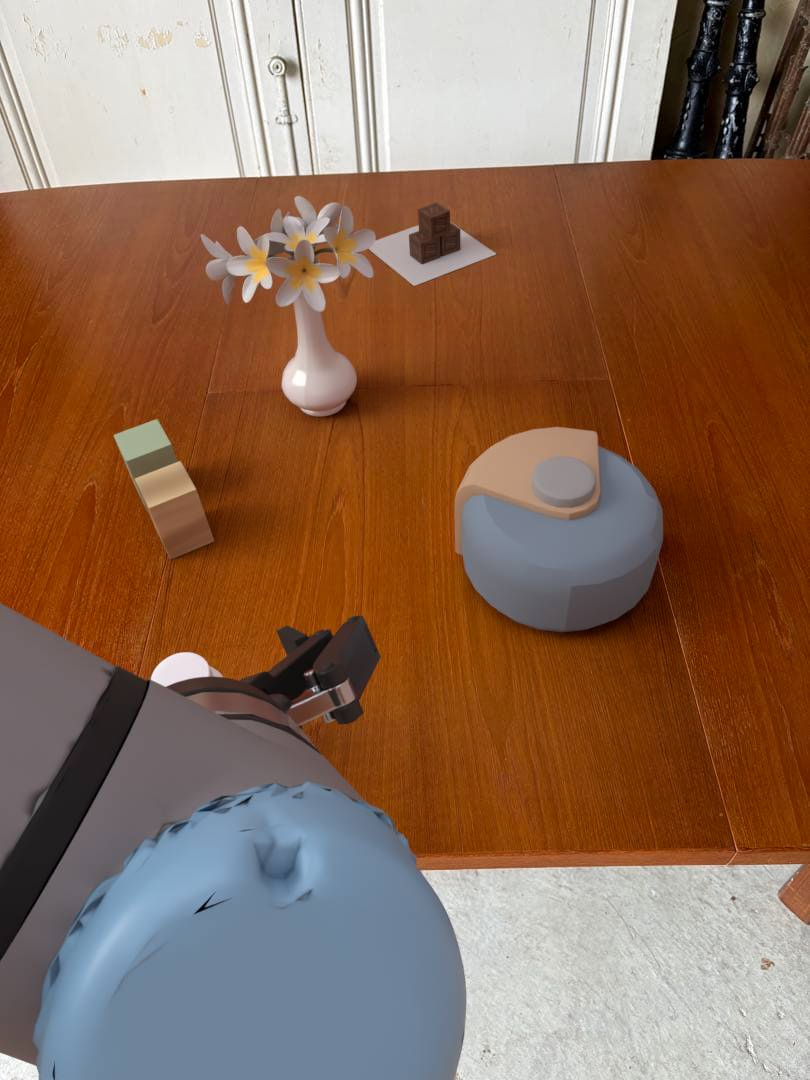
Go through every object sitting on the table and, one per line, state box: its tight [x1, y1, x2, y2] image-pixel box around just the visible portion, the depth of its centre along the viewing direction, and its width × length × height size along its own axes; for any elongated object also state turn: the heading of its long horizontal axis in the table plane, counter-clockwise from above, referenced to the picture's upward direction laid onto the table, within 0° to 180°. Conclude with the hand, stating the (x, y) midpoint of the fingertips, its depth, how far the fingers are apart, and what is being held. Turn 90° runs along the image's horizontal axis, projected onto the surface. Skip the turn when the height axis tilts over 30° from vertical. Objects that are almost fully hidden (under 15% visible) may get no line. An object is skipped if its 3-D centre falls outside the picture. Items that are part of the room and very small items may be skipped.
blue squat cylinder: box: [454, 426, 664, 633], centre depth 79 cm, size 19×20×12 cm
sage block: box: [113, 418, 179, 514], centre depth 91 cm, size 5×5×8 cm
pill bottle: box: [150, 651, 224, 687], centre depth 68 cm, size 6×6×11 cm
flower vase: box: [200, 195, 377, 418], centre depth 93 cm, size 13×18×25 cm
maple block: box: [135, 460, 215, 560], centre depth 86 cm, size 5×5×8 cm
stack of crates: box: [367, 202, 497, 287], centre depth 124 cm, size 15×15×7 cm
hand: (185, 698), depth 48 cm, fingers open, 13 cm apart
